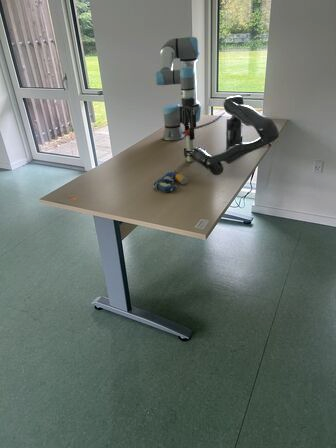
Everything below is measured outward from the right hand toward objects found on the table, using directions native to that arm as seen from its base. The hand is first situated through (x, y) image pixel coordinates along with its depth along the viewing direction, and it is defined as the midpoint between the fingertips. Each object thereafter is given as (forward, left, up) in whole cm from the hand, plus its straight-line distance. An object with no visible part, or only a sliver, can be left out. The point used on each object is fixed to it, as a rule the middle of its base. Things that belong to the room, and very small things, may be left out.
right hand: (188, 148), depth 205 cm
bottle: (0, +3, -7) cm, 7 cm away
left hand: (0, +3, +7) cm, 8 cm away
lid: (0, +3, +12) cm, 12 cm away
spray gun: (+24, +30, -7) cm, 39 cm away
